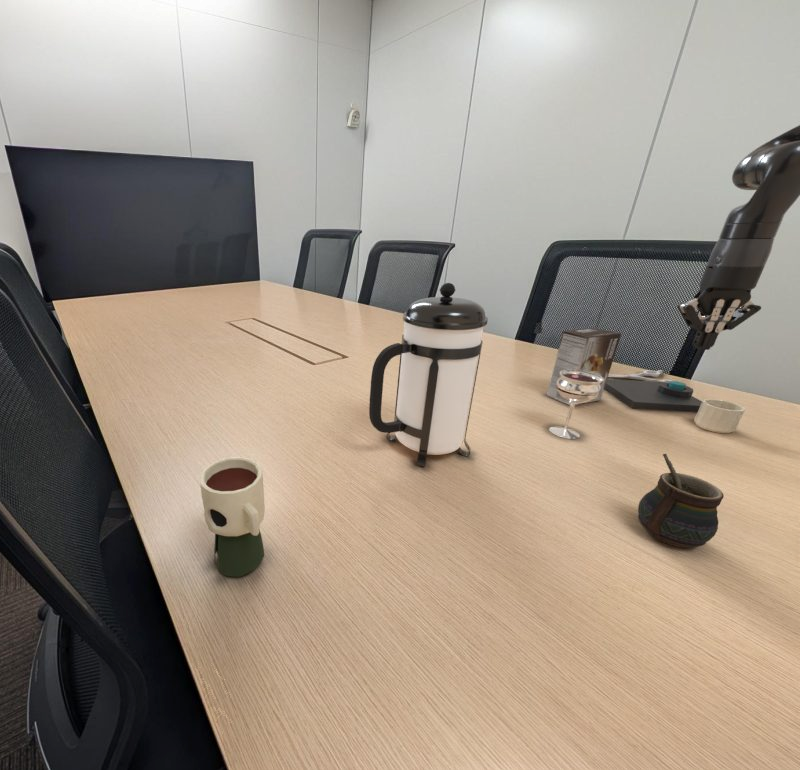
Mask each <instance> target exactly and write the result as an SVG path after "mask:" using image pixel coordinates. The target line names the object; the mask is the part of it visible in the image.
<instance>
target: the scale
mask: <svg viewBox="0 0 800 770" xmlns="http://www.w3.org/2000/svg"><path fill="white" fill-rule="evenodd" d="M668 386H669V383H666V382H654V381H645V380H634V379H613V378H612V379H611V378H607V381H606V384H605V387H604V390H605V391H607V392H608V393H609V394H611V395H613V396H614V397H615V398H617V399H619V400H620V401H621V402H623V403H624V404H625V405H627V406H628V407H629V408H630V409H635V410H652V411H668V412H669V411H670V412H685V413H697V412H698V410H699V408H700V406H701V403H702V401H703V400H701V399H698V398H697V397H695V396H693V394H694V388H692V387H690V386H688V385H686V386H685V388H684V390H678V389H673V388H670V387H668Z"/></svg>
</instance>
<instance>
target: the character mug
mask: <svg viewBox="0 0 800 770" xmlns="http://www.w3.org/2000/svg"><path fill="white" fill-rule="evenodd" d="M263 474H264V473H263V469H262V467H261V465H260V464H259V463H258V462H257V461H256V460H253V459H251V458H248V457H244V456H243V457H242V456H232V457H231V456H228V457H225V458H220V459H217V460H216V461H214V462H211V463H210V464H208V465H207V466H206V467H205V468H204V470H202V472H201V474H200V476H199V484H200V494H201V499H202V504H203V506H202V507H203V510H204V511H203V512H204V513H203V514H204V515H203V516H204V521H205V524H206V526H207V528H208V530H209V531H210V532H211V533H213V534H214V549H213V552H214V554H213V555H214V556H213V557H214V558H213V563H214V565H218V566H217V567H218V571H219V573H221V574H224V575H225V576H228V577H238V578H239V577H242V576H244V575H247V574H249V573H251V572H253V571H254V570H255V569H256V568H258V567H259V566H260V565H261V563H262V562H263V559H264V558H265V547H264V543H263V538H262V533H261V529H260V525H261V523H263V520H264V519H265V511H266V510H265V509H266V506H265V489H264V475H263ZM216 554H217V564H216Z"/></svg>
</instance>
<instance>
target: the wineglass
mask: <svg viewBox="0 0 800 770" xmlns="http://www.w3.org/2000/svg"><path fill="white" fill-rule="evenodd" d="M560 375H561V377H560V378H559V379H558V381H557V382H556V388H557V391H558V392H559V394H560V395H561V396H562V397H563V398H564V399H566V400H568V402H569V403H570V405H569V406H568V412H567V414H566V415H567V416H566V420H565V424H564V426H558V425H555V426H551V427H549V429H548V430H549V432H550V433H551V434H553V435H555V436H557V437H560V438H563V439H568V440H575V439H576V440H577V439H579V438H580V437H581V435H580V433H578V431H575V430H574V429H573V428H569V427H568V426H569V424H570V420H571V418H572V415H573V412H574V409H575V407H576V405H579V404H578V403H581V404H584V403H583V402H587V403H589V402H588V401H590V400H592V399H594V398H596V397H597V396H598V395H599V393H600V391H601V385H600V383H602V382H603V381H604V379H603V377H601V376H599V375H597V374H594V373H590V372H586V371H580V370H563V371H560ZM575 404H576V405H575Z"/></svg>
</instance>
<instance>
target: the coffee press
mask: <svg viewBox="0 0 800 770" xmlns="http://www.w3.org/2000/svg"><path fill="white" fill-rule="evenodd" d="M456 291H457V290H456V287H455V285H454V284H453V283H451V282H445V283H443V284H442V285H441V287H440V288H439V292H440V295H441V296H433V297H431V296H430V297H425V298H424V297H423V298H420V299H418V300H415V301H413V302H412V303H410V304H409V306H408V307H407V309H406V311H405V312H404V313H402V320H403V323H404V325H403V327H404V328H403V334H402V335H401V342H400V343H399V342H395V343H393V344H390V345H388V346H386V347H385V348H383V349H382V350H381V351H380V352H379V354H378V355H377V357H376V358H375V360H374V362H373V365H372V371H371V376H370V377H371V378H370V387H369V388H370V391H369V405H368V406H369V407H368V413H369V414H368V415H369V416H368V417H369V421H370V423H371V425H372V426H373V427H374V429H376V430H377V431H378V432H380V433H382V434H383V433H384V434H386V436H385V437H386V439H387V441H390V442H392V441H394V440H396V439H397V440H398V442H399V443H401V444H402V445H403V446H404V447H406V448H408V449H410V450H412V451H414V452H417V453H418V455H417V459H416V460H417V461H416V466H420V467H424V468H425V467H426V464H427V459H428V455H433V456H439V455H441V456H442V455H447V454H451V453H454V452H456V451H458V453H460V455H461V456H463V457H469V456H470V455H471V446H470V444H469V443H468V441H467V440H466V437H467V432H468V426H469V420H470V414H471V410H472V409H471V408H472V403H473V398H474V392H475V386H476V381H477V375H478V369H479V364H480V359H481V353H482V348H483V342H484V341H483V339H482V338H483V332H484V328H485V327H486V326H487V325H488V321H489V319H488V318H489V317H487V315H486V313H485V309H484V308H483V306H481V304H479V303H477V302H475V301H473V300H470V299H466V298H461V297H452V296H453V295H454V294H455V292H456ZM398 356H399V365H398V376H397V377H398V378H397V386H396V388H397V389H396V396H395V397H396V399H395V406H394V407H395V408H394V416H393V417H394V418H393V419H394V420H393V421H389V422H384V421H383V419H382V402H383V401H382V400H383V390H384V377H385V370H386V367H387V366H388V364H389V362H390V361H391V360H392V359H393V358H394V357H398ZM392 433H394V434H395V435H394V436H390V434H392ZM463 444H464V445H465V448H466V449H467V451H464V450H463V449H462V448H461V446H462V445H463Z"/></svg>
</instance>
